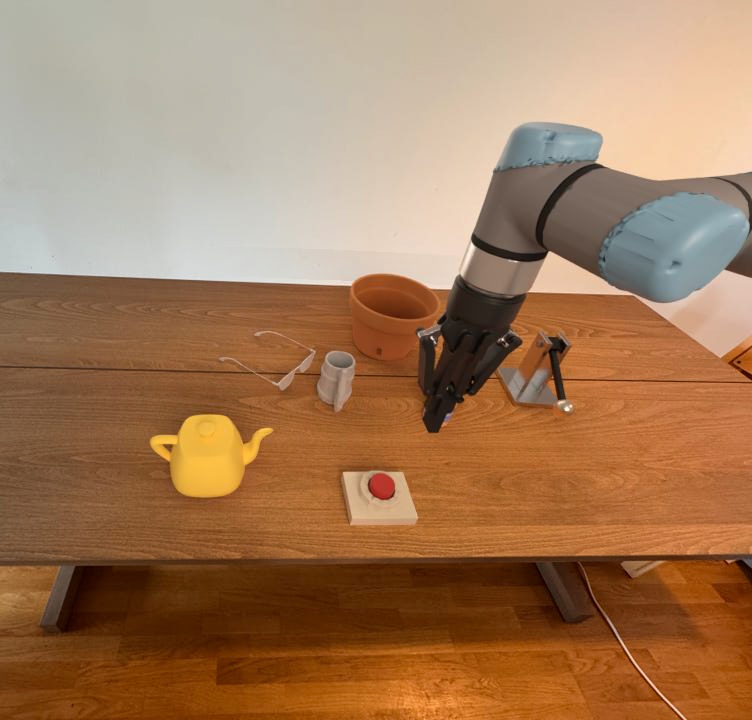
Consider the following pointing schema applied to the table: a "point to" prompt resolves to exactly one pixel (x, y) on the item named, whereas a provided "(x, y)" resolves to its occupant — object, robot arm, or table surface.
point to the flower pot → (390, 314)
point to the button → (381, 486)
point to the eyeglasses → (289, 377)
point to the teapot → (208, 455)
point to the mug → (336, 378)
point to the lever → (559, 382)
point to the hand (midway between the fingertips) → (430, 425)
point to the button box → (377, 501)
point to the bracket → (533, 374)
